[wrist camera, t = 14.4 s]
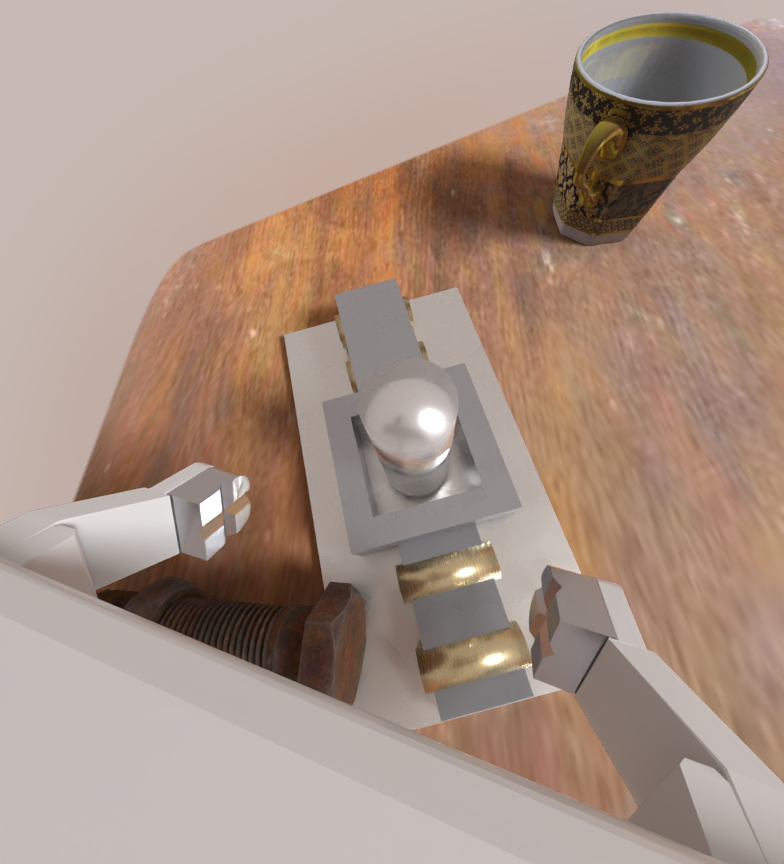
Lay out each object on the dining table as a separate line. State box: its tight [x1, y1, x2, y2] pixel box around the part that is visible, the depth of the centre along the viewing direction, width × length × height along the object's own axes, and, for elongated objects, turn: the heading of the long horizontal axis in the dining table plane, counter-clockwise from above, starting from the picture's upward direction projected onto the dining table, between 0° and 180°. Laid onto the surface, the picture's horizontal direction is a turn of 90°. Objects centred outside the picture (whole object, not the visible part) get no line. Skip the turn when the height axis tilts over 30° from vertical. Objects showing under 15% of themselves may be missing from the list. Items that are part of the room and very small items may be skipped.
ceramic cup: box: [553, 12, 769, 246], centre depth 24 cm, size 13×10×10 cm
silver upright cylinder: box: [358, 358, 459, 496], centre depth 18 cm, size 4×4×9 cm
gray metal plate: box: [284, 278, 581, 731], centre depth 21 cm, size 14×26×4 cm, turn 14°
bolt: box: [97, 577, 366, 706], centre depth 18 cm, size 6×5×15 cm
